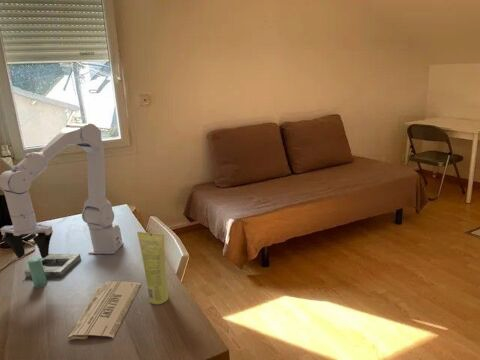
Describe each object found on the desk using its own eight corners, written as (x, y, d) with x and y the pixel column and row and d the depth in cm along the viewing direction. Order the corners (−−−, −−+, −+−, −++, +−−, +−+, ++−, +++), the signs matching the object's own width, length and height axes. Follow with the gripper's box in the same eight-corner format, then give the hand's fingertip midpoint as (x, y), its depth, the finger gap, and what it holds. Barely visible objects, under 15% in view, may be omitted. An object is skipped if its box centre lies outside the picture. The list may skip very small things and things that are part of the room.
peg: (49, 281, 108) (43, 257, 106) (42, 287, 105) (35, 263, 102) (39, 280, 108) (33, 257, 106) (31, 287, 105) (25, 263, 103)
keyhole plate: (81, 259, 120) (79, 254, 119) (61, 277, 109) (60, 272, 109) (48, 259, 121) (46, 253, 121) (25, 277, 111) (24, 271, 110)
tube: (168, 291, 99) (159, 226, 93) (173, 300, 95) (164, 233, 89) (147, 297, 97) (137, 231, 91) (151, 307, 92) (140, 239, 87)
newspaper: (99, 287, 104) (99, 280, 103) (141, 290, 104) (141, 282, 103) (59, 344, 82) (58, 335, 82) (112, 348, 82) (111, 339, 81)
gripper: (-13, 218, 97) (0, 263, 101) (36, 218, 95) (47, 263, 99) (6, 209, 104) (18, 251, 108) (52, 208, 102) (62, 251, 106)
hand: (33, 256), depth 104 cm, fingers open, 7 cm apart
